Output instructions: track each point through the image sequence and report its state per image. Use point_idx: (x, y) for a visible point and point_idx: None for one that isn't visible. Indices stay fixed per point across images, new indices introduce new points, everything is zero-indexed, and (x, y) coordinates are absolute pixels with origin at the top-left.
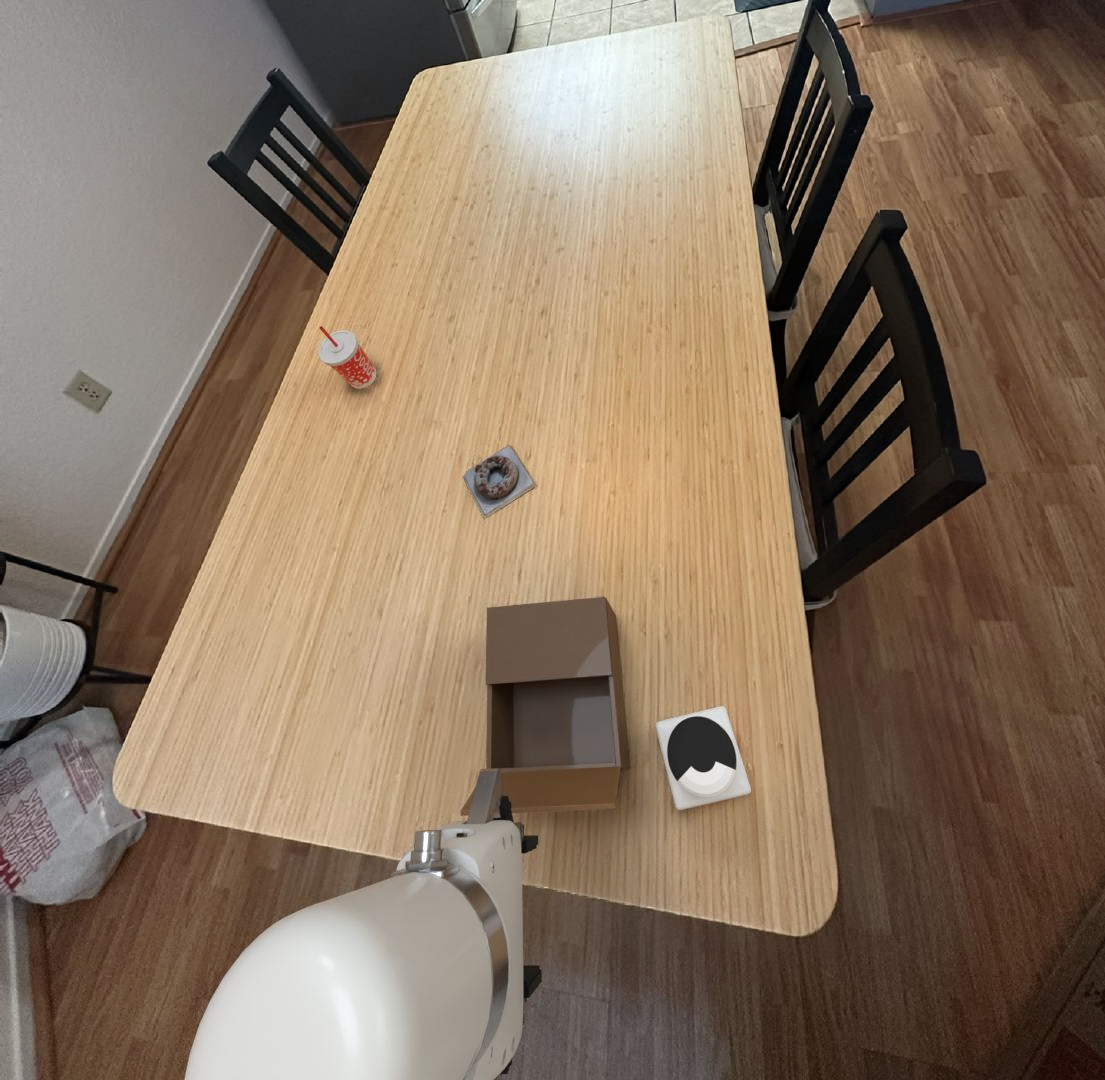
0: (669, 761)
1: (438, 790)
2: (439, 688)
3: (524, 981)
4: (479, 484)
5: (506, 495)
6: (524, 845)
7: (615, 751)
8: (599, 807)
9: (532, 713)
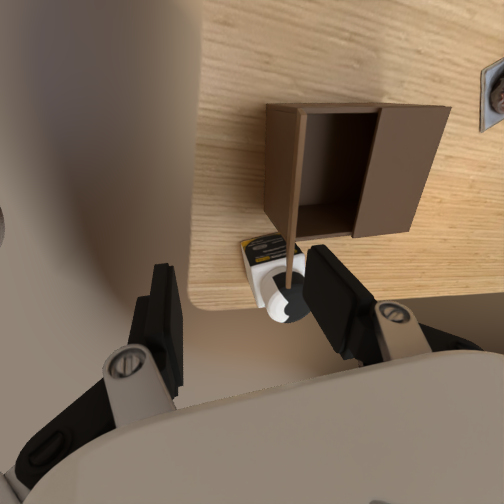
0: (291, 285)
1: (258, 8)
2: (349, 7)
3: (181, 385)
4: None
5: (489, 99)
6: (348, 355)
7: (297, 238)
8: (288, 277)
9: (310, 128)
